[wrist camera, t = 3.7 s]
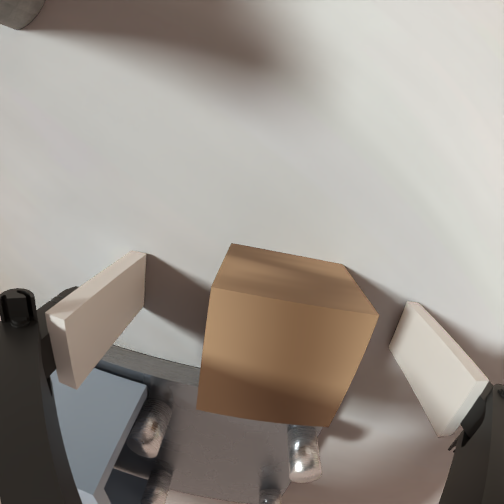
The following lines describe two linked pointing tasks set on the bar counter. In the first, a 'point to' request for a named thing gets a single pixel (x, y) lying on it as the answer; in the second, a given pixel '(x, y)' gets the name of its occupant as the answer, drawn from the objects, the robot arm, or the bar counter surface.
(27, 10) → the hip flask
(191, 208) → the bar counter surface
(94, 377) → the housing cover
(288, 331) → the light brown cube
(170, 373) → the housing base
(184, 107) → the bar counter surface
